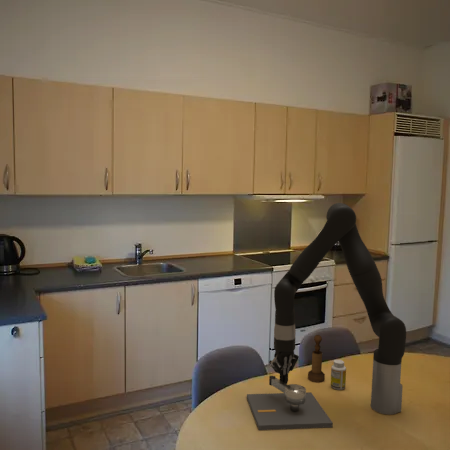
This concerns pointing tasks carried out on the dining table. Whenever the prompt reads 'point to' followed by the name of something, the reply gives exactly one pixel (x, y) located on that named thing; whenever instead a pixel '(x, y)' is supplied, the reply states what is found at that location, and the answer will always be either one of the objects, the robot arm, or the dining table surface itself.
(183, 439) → the dining table surface
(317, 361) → the wooden pepper mill
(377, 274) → the robot arm
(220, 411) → the dining table surface
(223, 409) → the dining table surface
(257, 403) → the plate
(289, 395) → the lever handle
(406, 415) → the dining table surface
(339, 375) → the supplement bottle
